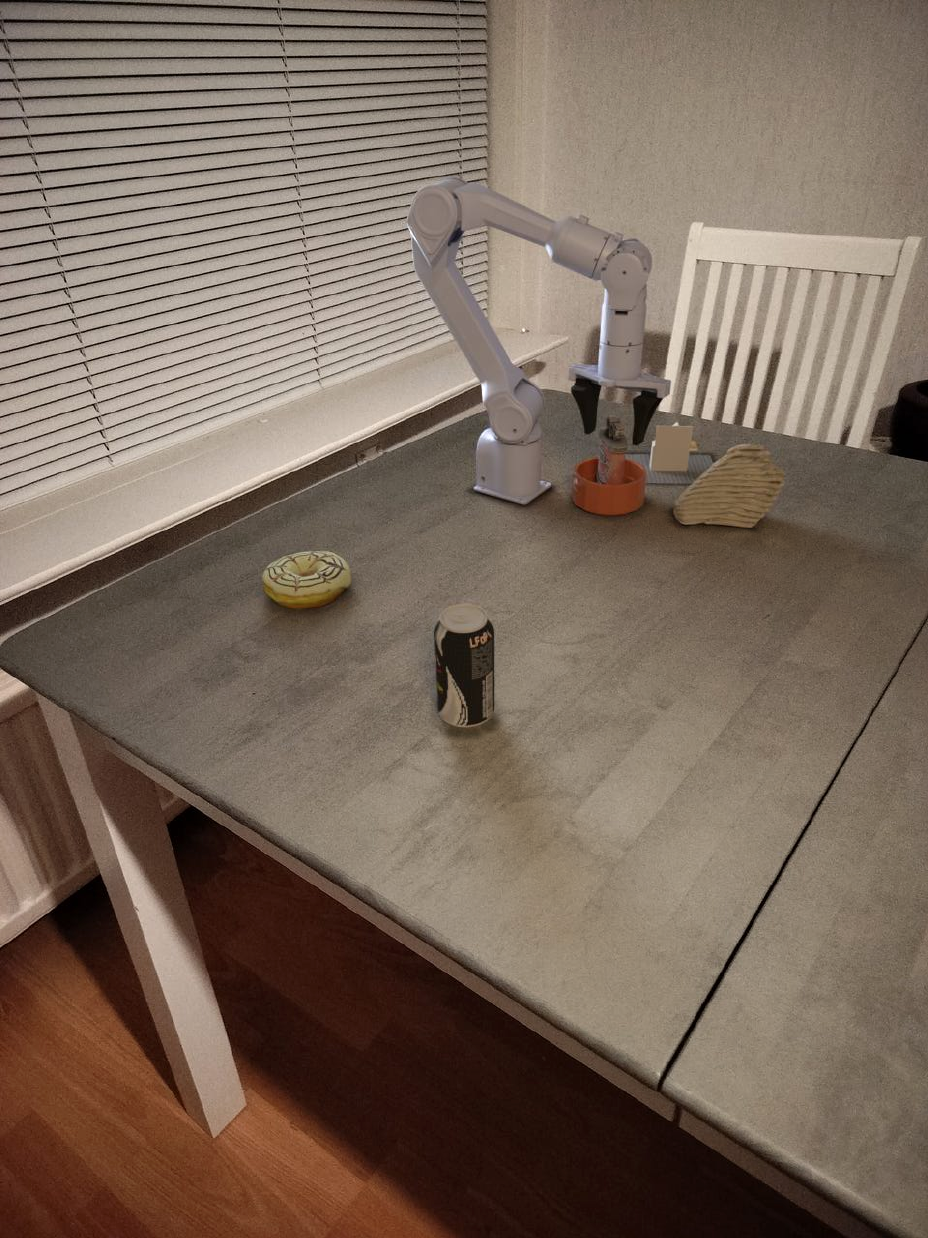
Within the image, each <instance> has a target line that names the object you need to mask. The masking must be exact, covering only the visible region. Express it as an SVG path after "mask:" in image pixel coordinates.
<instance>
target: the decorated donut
mask: <svg viewBox="0 0 928 1238" xmlns="http://www.w3.org/2000/svg"><path fill="white" fill-rule="evenodd" d="M261 580H262V588H263V591H264V592H265V594H267V596H268V597H269V598H270V599H271V600H273V602H275V603H277V604H278V605H279V606H281V607H285V608H288V609H293V610H297V611H301V610H304V609H305V610H308V609H313V608H320V607H323V606H325V605H328V604H330V603H332V602H333V601H334V600H335V599H337V598H338V597H339V596H340V595H341V594H342V593H343V592H344V591H345V590H346V589H348V588H349V587H350V586H351V583H352V573H351V568H350V566H349V564H348V563H347V561H346V560H344V558H342V557H341V556H340V555H337V554H336V553H334V552H331V551H325V550H318V551H317V550H313V551H298V552H295V553H292V554H287V555H284V556H282V557H280V558H278V559H276V560H275V561H273V562H271V563H269V564H268V565H267V566H266V567H265V569H264V571H263V573H262V576H261Z"/></svg>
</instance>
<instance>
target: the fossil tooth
mask: <svg viewBox="0 0 928 1238" xmlns="http://www.w3.org/2000/svg"><path fill="white" fill-rule="evenodd" d="M771 458H772V453H771V452H770V451H768V450H765V447H764V445H761V444H753V443H747V444H746V443H740V444H737V445H734V446H731V447H730V448H728V450H727V451H726V454H724V455H723V456H722V457H721V458H720V459H718V460H716V461H715V462H713V464H712V465H711V467H710V468H709V469H708V470H706V471H704V473H703V474H701V475H700V476H699V477H698V478H697V479H696V480H694V483H692V484H689V486H687V488H686V489H685V490H684V491H683V492H682V493H681V494H680V495H679V496H678V497H677V498H676V499H675V500H674V502H673V507H672V509H673V510H672V511H673V516H674V519H675V520H676V521H677V522H679V523H680V524H682V525H684V526H687V525H697V524H705V525H716V526H717V525H719V526H728V527H729V526H730V527H738V528H745V529H753V527H754V526H756V525H758V522H759V521H760V520H761V519H763V518H765V515H766V514H767V513H768V512H769V511H770V510H771V509H772V507H773V506H775V505H774V504H775V502H776V500H777V499H778V498H779V496H780V493H781V492H782V491H783V490H782V488H783V487H784V486H785V485H786V480H785V477H786V475H787V473H786V472H784V471H783V470H782V469H781V468H780V467H778V466H776V465H774V463H773V462H772V459H771Z"/></svg>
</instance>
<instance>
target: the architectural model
mask: <svg viewBox="0 0 928 1238" xmlns="http://www.w3.org/2000/svg"><path fill="white" fill-rule="evenodd" d="M693 431H694V426H693V425H680V424H679V421H676V422H674V423H673V424H672V425H656V431H655V434H653V439H652V440H651V449H650V453H649V454H647V453H640V454H639V453H626V454H625V459H629V460H633V461H635V462H637V463H639V464H641V465H642V466H643V467H644V468H645V469H646V470H647V473H646V483H645V484H675V485H676V484H678V485H679V484H681V485H685V484H687V485H688V484H689V485H691V484H692V483H694V480H696V479H697V478H698V477H699V476H700V475H701V474H703V473H704V471H706V470H708V469H709V468H710V467H711V465H712V464H713V463H714V461H713V459H712V456H711V455H710V454H691V453H690V452H697V451H698V445H697V442H696V441H695V440H692V438H693V433H694V432H693Z"/></svg>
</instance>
